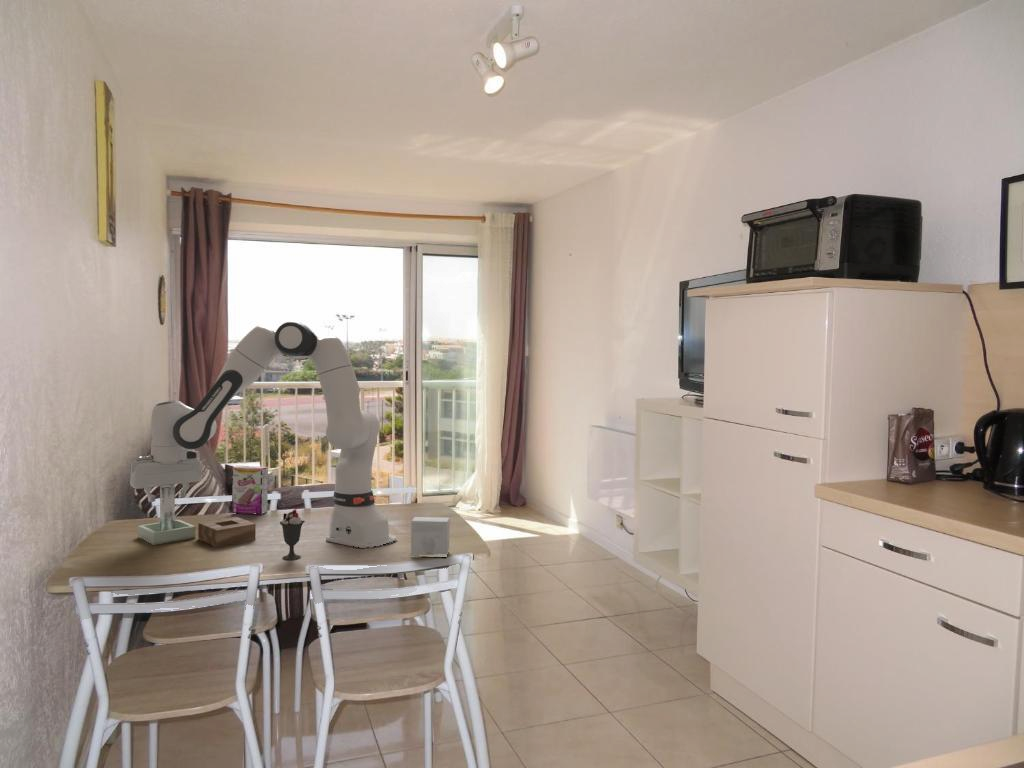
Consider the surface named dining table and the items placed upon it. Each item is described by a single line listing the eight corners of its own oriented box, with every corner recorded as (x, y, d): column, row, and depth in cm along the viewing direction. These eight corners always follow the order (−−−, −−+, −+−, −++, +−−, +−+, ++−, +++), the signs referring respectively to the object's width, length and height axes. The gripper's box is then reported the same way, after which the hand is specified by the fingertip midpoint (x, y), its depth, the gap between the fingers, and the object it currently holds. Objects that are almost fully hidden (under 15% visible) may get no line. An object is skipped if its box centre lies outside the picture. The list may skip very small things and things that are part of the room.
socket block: (255, 539, 214) (255, 523, 214) (216, 547, 205) (216, 530, 205) (236, 532, 222) (236, 516, 222) (198, 539, 213) (198, 522, 213)
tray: (195, 538, 214) (195, 526, 214) (154, 545, 206) (154, 533, 205) (178, 530, 222) (178, 519, 222) (138, 537, 214) (138, 525, 213)
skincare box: (449, 552, 206) (450, 516, 206) (446, 558, 200) (447, 522, 199) (413, 551, 206) (414, 515, 206) (410, 557, 200) (410, 520, 199)
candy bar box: (231, 513, 247) (231, 467, 246) (238, 510, 252) (238, 465, 251) (261, 515, 246) (262, 468, 245) (268, 512, 251) (268, 466, 250)
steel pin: (176, 535, 214) (177, 486, 214) (163, 538, 211) (163, 488, 211) (171, 533, 217) (171, 485, 216) (157, 535, 214) (158, 486, 213)
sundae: (304, 560, 194) (305, 506, 194) (278, 561, 192) (279, 507, 192) (304, 553, 201) (304, 501, 200) (279, 555, 199) (280, 502, 198)
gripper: (134, 458, 203) (134, 506, 204) (204, 452, 218) (204, 496, 219) (126, 456, 207) (126, 502, 208) (195, 450, 223) (195, 493, 223)
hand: (167, 499), depth 214 cm, fingers open, 8 cm apart
